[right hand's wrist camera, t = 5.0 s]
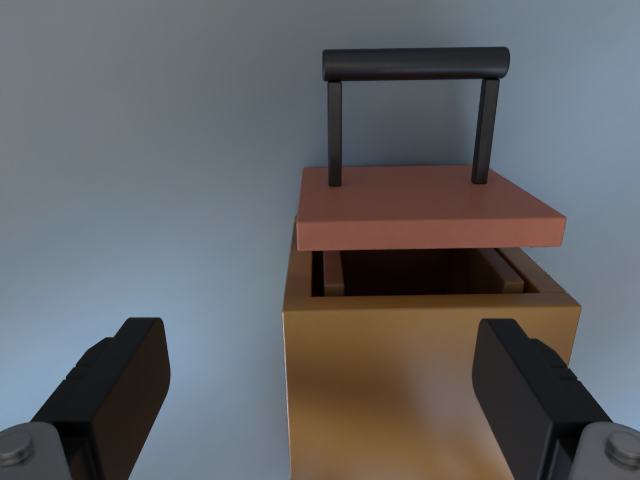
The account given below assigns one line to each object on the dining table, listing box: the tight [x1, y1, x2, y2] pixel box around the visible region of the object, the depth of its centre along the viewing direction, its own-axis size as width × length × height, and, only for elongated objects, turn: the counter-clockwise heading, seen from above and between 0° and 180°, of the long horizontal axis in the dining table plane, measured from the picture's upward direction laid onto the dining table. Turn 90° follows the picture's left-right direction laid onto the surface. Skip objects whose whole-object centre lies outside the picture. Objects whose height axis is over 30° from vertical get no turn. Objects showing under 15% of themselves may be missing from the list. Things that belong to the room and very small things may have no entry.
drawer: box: [296, 47, 566, 297], centre depth 23 cm, size 26×10×9 cm, turn 1°
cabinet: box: [282, 216, 581, 480], centre depth 26 cm, size 21×11×11 cm, turn 1°
